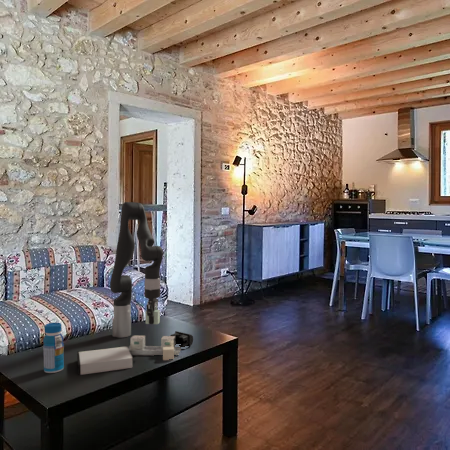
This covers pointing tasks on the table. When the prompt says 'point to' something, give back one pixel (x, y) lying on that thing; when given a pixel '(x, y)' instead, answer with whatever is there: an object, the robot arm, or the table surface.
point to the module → (156, 317)
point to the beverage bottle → (53, 348)
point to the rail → (141, 349)
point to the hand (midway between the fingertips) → (152, 322)
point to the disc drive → (103, 360)
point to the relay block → (168, 353)
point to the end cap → (183, 339)
